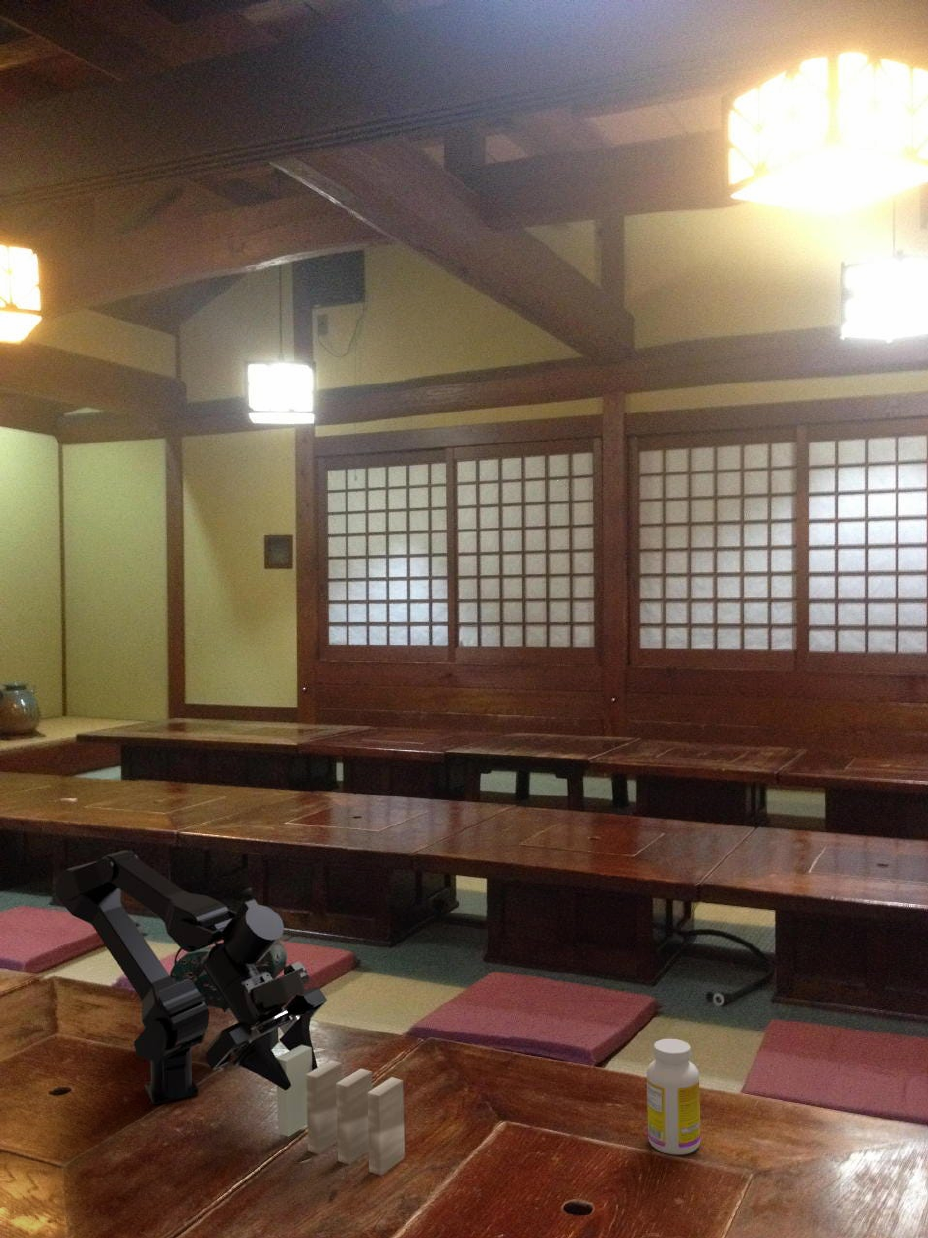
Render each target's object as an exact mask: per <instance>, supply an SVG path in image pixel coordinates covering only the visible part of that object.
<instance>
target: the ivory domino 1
mask: <svg viewBox="0 0 928 1238" xmlns="http://www.w3.org/2000/svg"><path fill="white" fill-rule="evenodd" d="M341 1080H343V1063H342V1062H339V1061H336V1060H333V1059H331V1060H329V1061H327V1062H326V1063H324V1064H322V1065H319V1066H318V1068H317V1069H315V1070H313V1071H311V1072H310V1073H308V1074H306V1087H307V1125H306V1126H307V1151H308V1152H311V1153H314V1154H316V1155H320V1154H322V1153H323V1152H324V1151H327V1150H328V1149H329V1148H330V1147H332V1146H333V1145H335V1144H336V1143H338V1136H337V1096H336V1083H338V1082H339V1081H341Z"/></svg>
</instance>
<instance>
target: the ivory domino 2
mask: <svg viewBox="0 0 928 1238" xmlns="http://www.w3.org/2000/svg"><path fill="white" fill-rule="evenodd" d="M372 1089H373V1071H371V1070H368V1069H364V1068H359V1069H358V1070H356V1071H355V1072H353V1073H351V1074H349V1075H348V1076H346V1077H344V1078H342V1080H341V1081H339V1082H338V1083H336V1096H337V1136H338V1142H337V1161H338V1162H340V1163H343V1164H346V1165H351V1164H352V1163H355V1161H357V1160H358V1159H359V1158H361V1157H362V1156H364V1155H366V1154H367V1153H369V1135H368V1092H369V1091H371V1090H372Z"/></svg>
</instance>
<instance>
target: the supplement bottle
mask: <svg viewBox="0 0 928 1238" xmlns="http://www.w3.org/2000/svg"><path fill="white" fill-rule="evenodd" d="M653 1056H654V1058H655V1060H653V1061H652V1062H650V1063H649V1065H648V1067H647V1070H646V1099H647V1102H646V1103H647V1104H646V1106H647V1110H646V1111H647V1136H648V1137H647V1138H648V1141H649V1143H650V1145H651V1146H652V1147H653V1148H654V1149H655V1150H657V1151H659V1152H662V1153H664V1154H669V1155H681V1156H682V1155H686V1154H687V1155H688V1154H690V1153H693V1152H694V1151H696V1150H697V1149H698V1148H699V1147H700V1143H701V1106H700V1105H701V1103H700V1102H701V1100H700V1074H699V1073H700V1072H699V1070H698V1068H697V1067H696V1065H695V1064H694V1063H692V1061H690V1060H691V1057H692V1049H691V1045H690V1044H689V1043H688V1042H687V1041H684V1040H682V1039H676V1038H664V1039H660V1040H657V1041H656V1042H654V1043H653Z"/></svg>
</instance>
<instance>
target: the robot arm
mask: <svg viewBox="0 0 928 1238" xmlns="http://www.w3.org/2000/svg"><path fill="white" fill-rule="evenodd" d="M54 886H55V887H54V891H55V895H56V896H57V899H58V901H60V903H61V905H62V906H64V908H65V909H66V910H67V911H68V912H69V913H70V914H71V916H73V917H75V918H77V919H79V920H81V921H82V922H83V921H84V922H85V923H87V924H90V925H91V926H92V927H93V929H94V930H95V932H96V934H97V935H98V936H99V938H100V939H101V941H102V942H103V944H104V945H105V947H106V948H107V951H109V953H110V954H111V956H112V957H113V959H114V961H115V962H116V963H117V965H118V967H120V969H121V971H122V972H123V974H124V975H125V978H126V979H127V980H128V982H129V983H130V985H131V986H132V988H133V989H134V990H135V992H136V995H138V996H139V998H140V1000H141V1022H142V1024H143V1026H144V1030H143V1031H142V1032H141V1033H140V1034H139V1035H138V1036H137V1038H136V1039H135V1040H133V1045H134V1049H135V1052H136V1056H137V1057H138V1058H140V1059H144V1060H147V1061H150V1082H147V1083H145V1084H144V1088H145V1090H146V1093H147V1094H148V1097H149V1098H150V1100H151V1103H152V1104H153V1105H158V1104H163V1103H167V1102H172V1101H176V1100H177V1101H178V1100H181V1099H185V1098H191V1097H194V1096H195V1097H196V1096H198V1095H199V1094H200V1091H199V1088H198V1086H197V1085H196V1083H195V1082H194V1080H193V1078H192V1073H193V1072H192V1048H193V1047H194V1046H196V1045H198V1044H202V1043H203V1042H204V1039H205V1036H206V1032H207V1030H208V1027H209V1020H210V1010H209V1008H208V1006H207V1005H206V1004H205V1002H204V1000H206V998H205V997H204V996H202V995H201V994H200V993H199V991H198V990H197V988H196V986H195V984H194V982H193V981H191V980H190V979H189V978H188V979H185V980H183V981H180V982H178V981H176V980H174V979H172V978H171V977H170V973H169V972H168V970H167V969H166V968H165V966H164V965H163V964H162V962H161V961H160V959H159V958H158V956H157V955H156V953H155V952H154V950H153V949H152V948H151V946H150V944H149V943H148V942H147V941H146V939H145V937H144V936H143V934H142V933H141V931H140V930H139V929H138V927H137V925H136V924H135V923H134V921H133V920H132V918H131V917H130V915H129V914H128V913H127V911H126V910H125V908H124V907H123V905H122V902H121V897H122V892H123V893H125V894H126V895H127V896H128V897H130V898H131V899H133V900H134V901H136V902H137V903H138V904H140V905H141V906H143V907H144V908H145V909H147V911H150V913H152V914H154V915H155V916H157V917H158V918H159V919H160V920H161V921H163V923H164V926H165V930H166V934H167V935H168V936H169V938H171V940H172V941H173V942H175V944H177V946H178V947H179V948H180V947H181V948H182V951H185V952H186V953H188V952H194V951H196V950H199V949H201V948H204V947H209V946H213V947H212V949H211V950H210V951H209V952H208V953H205V954H203V955H200V956H198V957H197V965H196V968H195V976H196V977H199V976H202V975H204V974H208V975H209V977H210V978H211V980H212V982H213V983H214V985H215V986H216V988H217V989H218V991H219V993H220V994H221V996H222V997H223V999H224V1000H225V1002H224V1003H223V1004H222V1005H221V1008H220V1009H222V1011H223V1013H226V1012H229V1011H231V1013H232V1014H233V1016H234V1018H235V1019H236V1021H237V1022H236V1023H234V1024H232V1025H230V1026H228V1027H226V1028H223V1029H221V1031H219V1033H218V1034H217V1036H216V1037H215V1038H213V1040H212V1041H211V1042H210V1043H209V1044H208V1045H207V1046H206V1048H205V1061H206V1062H207V1064H208V1065H209V1068H211V1070H212V1071H216V1070H217V1069H219V1068H221V1067H223V1066H225V1065H227V1064H228V1063H229V1062H230V1061H231V1055H232V1053H231V1052H234V1056H235V1057H236V1058H235V1059H234V1060H233V1061H232V1063H231V1064H232V1066H233V1067H237V1066H239V1067H241V1068H243V1069H245V1070H248V1071H249V1072H252V1073H254V1074H256V1075H258V1076H260V1077H262V1078H263V1079H265V1080H267V1081H268V1082H270V1083H272V1084H273V1085H275V1086H276V1087H277V1086H279V1087H280V1088H282V1089H284V1090H288V1089H289V1088H290V1087H291V1083H290V1081H289V1079H288V1077H287V1075H286V1073H285V1071H284V1070H283V1068H282V1066H281V1065H280V1063H279V1061H278V1060H277V1056H276V1054H275V1053H274V1051H273V1049H271V1047H270V1038H269V1032H271V1031H273V1030H275V1029H277V1028H278V1029H280V1030H281V1032H282V1033H283V1035H282V1036H281V1037H280V1038H278V1040H279V1042H280V1043H282V1045H283V1046H284V1047H285V1049H287V1050H288V1052H289V1051H291V1050H292V1049H294V1048H296V1047H298V1046H300V1045H305V1046H308V1047H312V1071H313V1070H315V1069H317V1068H318V1067H319V1066H318V1063H317V1060H316V1055H315V1050H314V1047H313V1042H312V1038H311V1031H310V1030H311V1029H310V1026H311V1019H312V1018H313V1017H314V1015H315V1014H316V1013H317V1012H318V1011H319V1010H320V1009H321V1008H322V1007H323V1006H324V1004H325V1003H326V1002H327V1001H328V1000H327V999H328V998H326V996H325V994H324V993H323V992H322V990H321V989H320V988H317V987H314V986H312V987H309V988H308V989H306V988H305V985H306V984H308V983H309V982H310V975H309V973H308V971H307V969H306V968H305V967H304V965H303V964H302V963H301V961H299V960H298V961H296V962H292V963H290V964H288V965H286V967H284V970H283V974H281V975H280V976H279V977H278V976H277V977H276V978H275V979H273V978H272V977H271V975H270V974H269V973H267V972H264V973H262V974H259V972H258V970H257V969H256V967H255V966H254V964H255V963H258V962H259V961H260V960H261V959H262V958H263V957H264V956H265V954H266V953H267V952H268V951H269V950H270V949H271V947H272V946H273V945H274V944H275V943H276V942H277V941H278V939H279V940H280V938H281V937H282V936H283V934H284V931H285V926H284V925H285V924H284V921H283V919H282V917H281V915H280V914H279V913H278V912H275V911H274V910H272V909H271V908H270V907H268V906H265V905H260V904H259V903H258V902H257V900H256V899H255V898H252V899H249V900H246V901H244V902H243V903H242V904H241V905H240V906H239V908H238V911H237V912H236V911H234V910H231V909H230V908H228V907H227V906H226V905H225V904H224V903H223V902H221V901H220V900H217V899H215V898H212V897H210V896H208V895H205V894H199V893H198V894H197V893H193V892H192V893H191V892H188V891H186V890H183V888H181V887H180V886H178V885H177V884H175V883H174V882H172V881H171V880H169V879H168V878H166V877H165V876H163V875H162V874H161V873H159V872H158V871H157V870H155V869H153V868H152V867H151V866H149V865H148V864H146V863H145V862H144V861H142V860H140V859H139V857H138V856H137V854H136V853H135V852H134V851H132V850H122V851H119V852H115V853H112V854H111V853H110V854H107V855H104V856H103V857H102V858H100V859H98V860H95V861H92V862H89V863H85V864H81V865H78V866H73V867H70V868H65V869H64V870H62V871H61V872H60V873H59V875H58V878H57V880H56V883H55V885H54ZM214 943H219V944H217V945H215V944H214ZM274 1021H275V1022H274ZM272 1022H274V1023H272ZM271 1023H272V1024H271ZM262 1027H263V1028H262ZM260 1028H262V1029H260ZM258 1029H260V1030H258Z"/></svg>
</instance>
